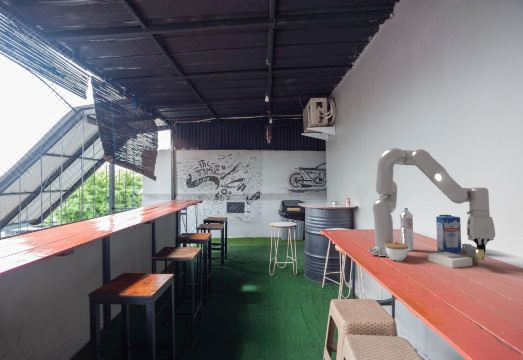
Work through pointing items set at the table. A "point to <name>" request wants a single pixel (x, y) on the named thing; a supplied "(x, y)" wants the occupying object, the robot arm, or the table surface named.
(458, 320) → the table surface
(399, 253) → the lidded jar
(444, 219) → the milk carton
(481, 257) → the latch bar
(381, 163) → the robot arm
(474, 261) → the jamb block
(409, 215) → the water bottle
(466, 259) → the door panel
